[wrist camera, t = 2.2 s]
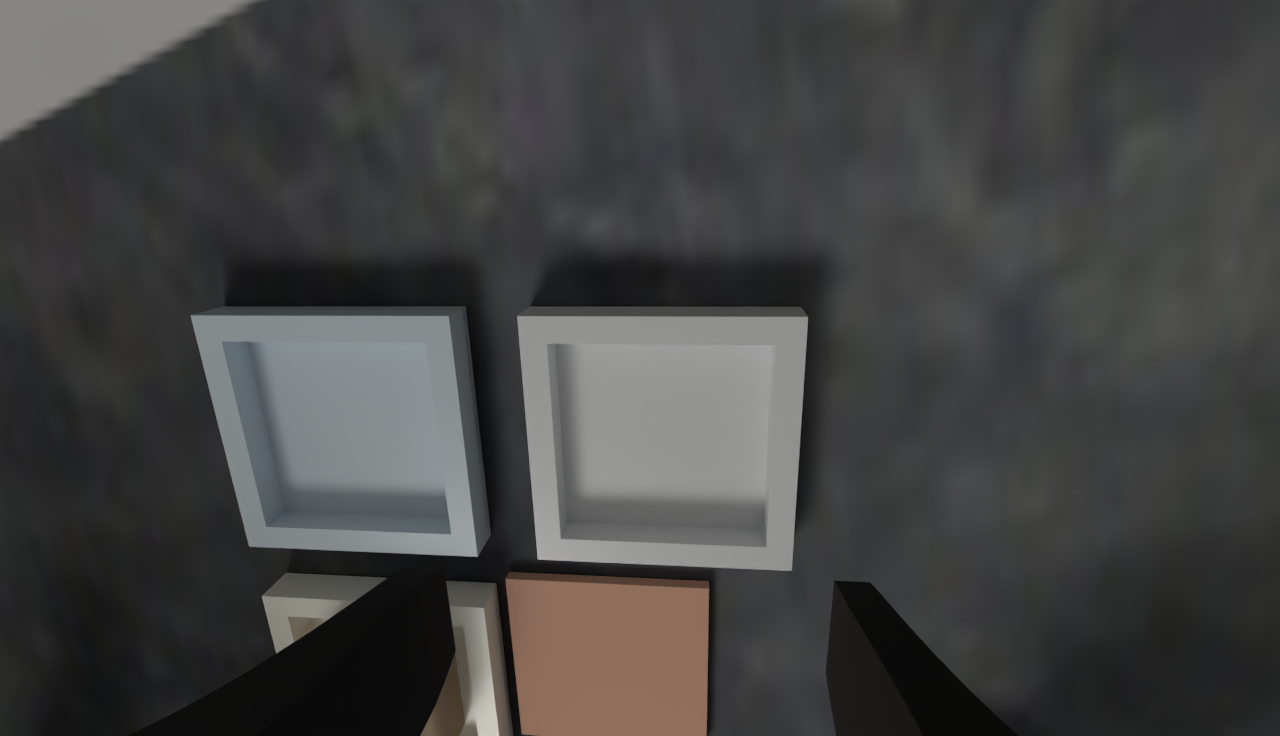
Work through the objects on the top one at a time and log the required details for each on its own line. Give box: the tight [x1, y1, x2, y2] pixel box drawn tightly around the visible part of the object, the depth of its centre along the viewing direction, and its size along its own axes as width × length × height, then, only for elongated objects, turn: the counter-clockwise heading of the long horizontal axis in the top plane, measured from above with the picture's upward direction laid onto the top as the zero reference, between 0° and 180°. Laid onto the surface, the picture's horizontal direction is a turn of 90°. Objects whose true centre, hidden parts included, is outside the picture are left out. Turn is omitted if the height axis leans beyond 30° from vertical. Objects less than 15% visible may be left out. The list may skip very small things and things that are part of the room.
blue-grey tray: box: [191, 306, 491, 557], centre depth 19 cm, size 8×8×1 cm
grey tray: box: [517, 307, 808, 571], centre depth 18 cm, size 8×8×1 cm
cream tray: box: [262, 573, 513, 736], centre depth 23 cm, size 8×8×1 cm
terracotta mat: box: [505, 572, 709, 736], centre depth 22 cm, size 7×7×1 cm
